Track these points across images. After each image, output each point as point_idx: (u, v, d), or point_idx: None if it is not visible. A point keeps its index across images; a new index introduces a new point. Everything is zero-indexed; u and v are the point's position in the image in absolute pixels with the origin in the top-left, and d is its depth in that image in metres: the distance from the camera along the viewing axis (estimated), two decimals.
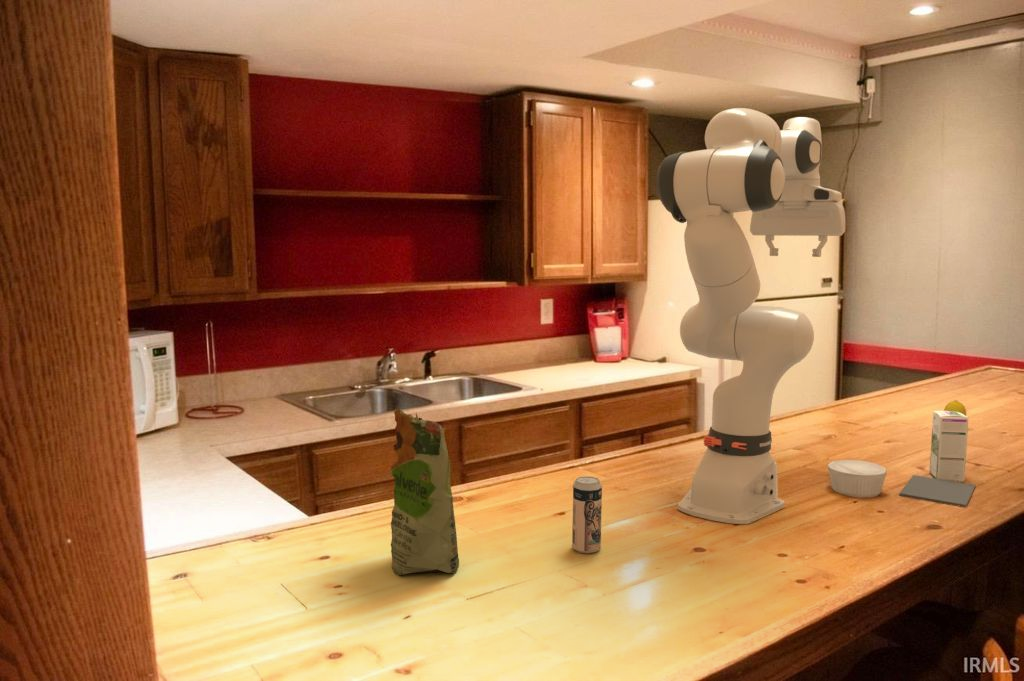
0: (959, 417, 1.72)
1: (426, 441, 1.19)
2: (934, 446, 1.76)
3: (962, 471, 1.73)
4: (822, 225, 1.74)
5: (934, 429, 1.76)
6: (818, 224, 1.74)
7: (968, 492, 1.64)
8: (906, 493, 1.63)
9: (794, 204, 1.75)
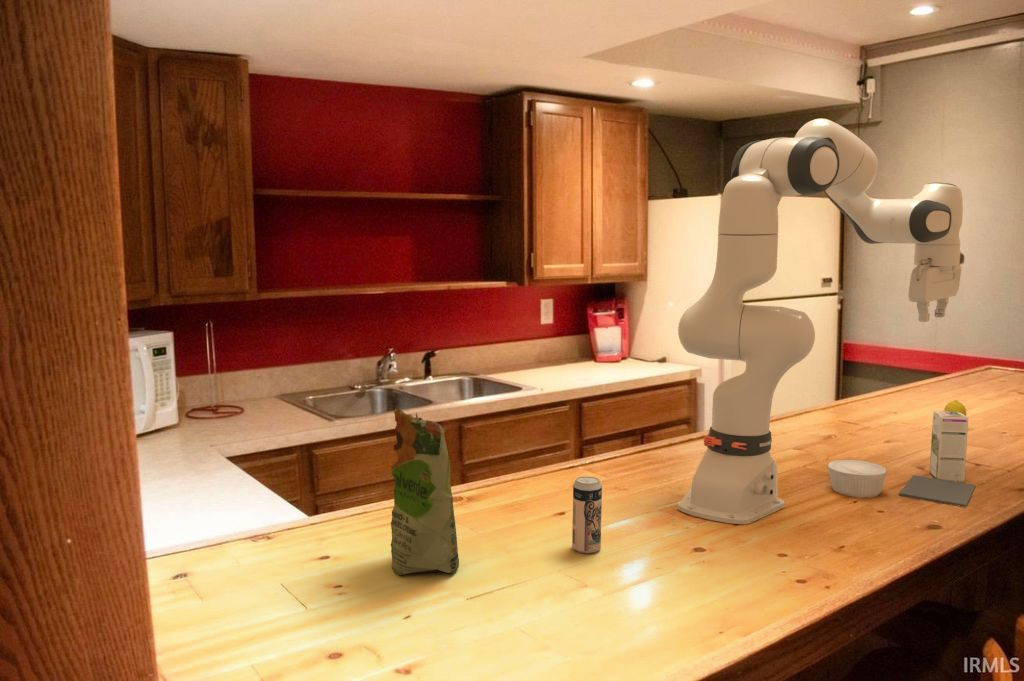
0: (959, 417, 1.72)
1: (426, 441, 1.19)
2: (934, 446, 1.76)
3: (962, 471, 1.73)
4: (952, 287, 1.81)
5: (934, 429, 1.76)
6: (951, 286, 1.81)
7: (968, 492, 1.64)
8: (906, 493, 1.63)
9: (951, 269, 1.76)
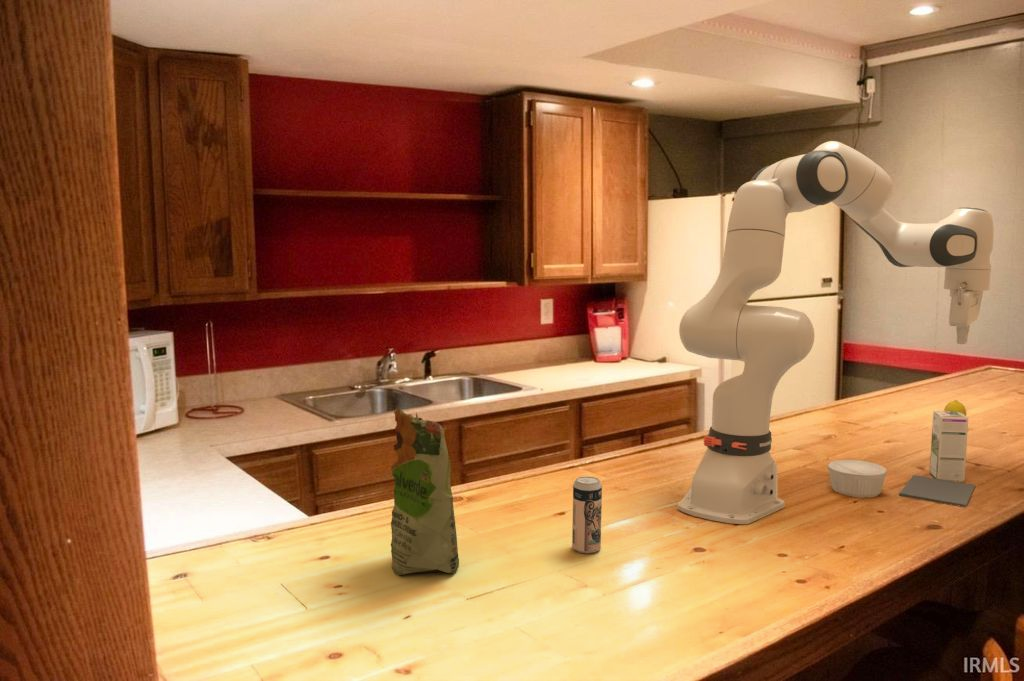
0: (959, 417, 1.72)
1: (426, 441, 1.19)
2: (934, 446, 1.76)
3: (962, 471, 1.73)
4: (976, 311, 1.83)
5: (934, 429, 1.76)
6: (976, 311, 1.82)
7: (968, 492, 1.64)
8: (906, 493, 1.63)
9: (982, 293, 1.77)
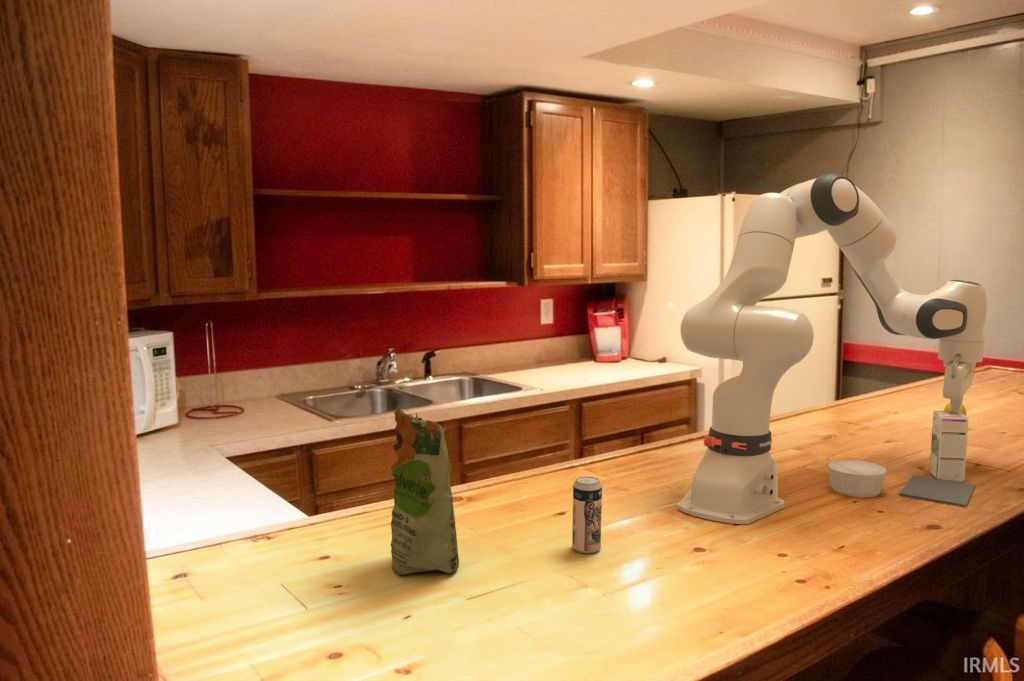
0: (959, 417, 1.72)
1: (426, 441, 1.19)
2: (934, 446, 1.76)
3: (962, 471, 1.73)
4: (970, 379, 1.85)
5: (934, 429, 1.76)
6: (969, 379, 1.84)
7: (968, 492, 1.64)
8: (906, 493, 1.63)
9: (975, 364, 1.79)
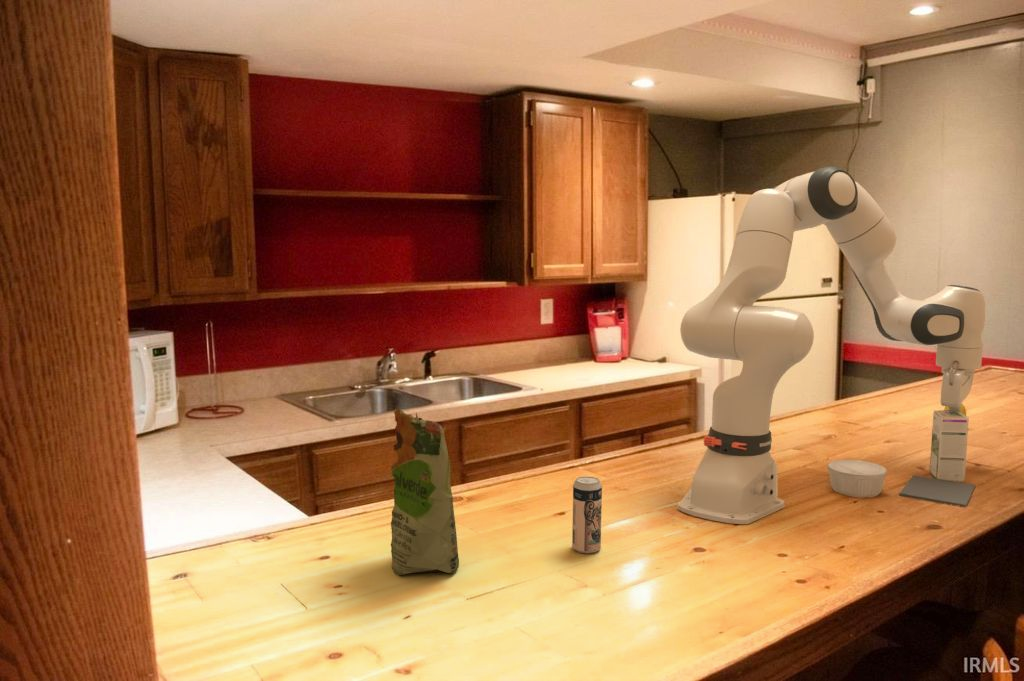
0: (959, 417, 1.71)
1: (426, 441, 1.19)
2: (934, 446, 1.76)
3: (962, 471, 1.73)
4: (968, 386, 1.82)
5: (934, 429, 1.76)
6: (968, 386, 1.81)
7: (968, 492, 1.64)
8: (906, 493, 1.63)
9: None
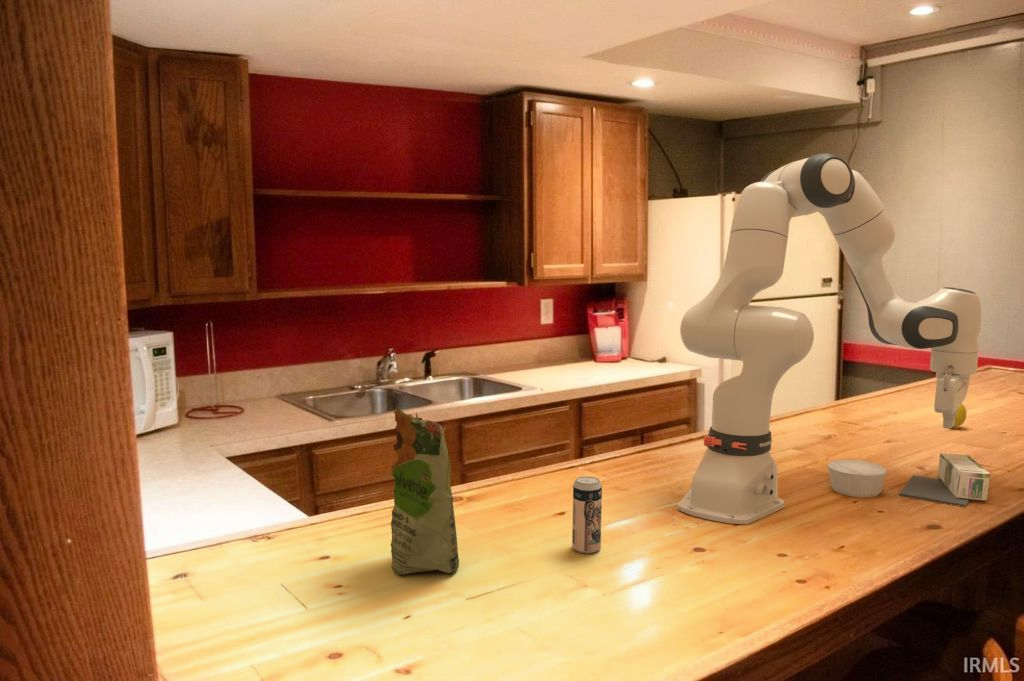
0: None
1: (426, 441, 1.19)
2: (947, 473, 1.67)
3: None
4: (964, 392, 1.75)
5: (952, 475, 1.64)
6: (963, 392, 1.75)
7: None
8: (906, 493, 1.63)
9: (969, 376, 1.69)
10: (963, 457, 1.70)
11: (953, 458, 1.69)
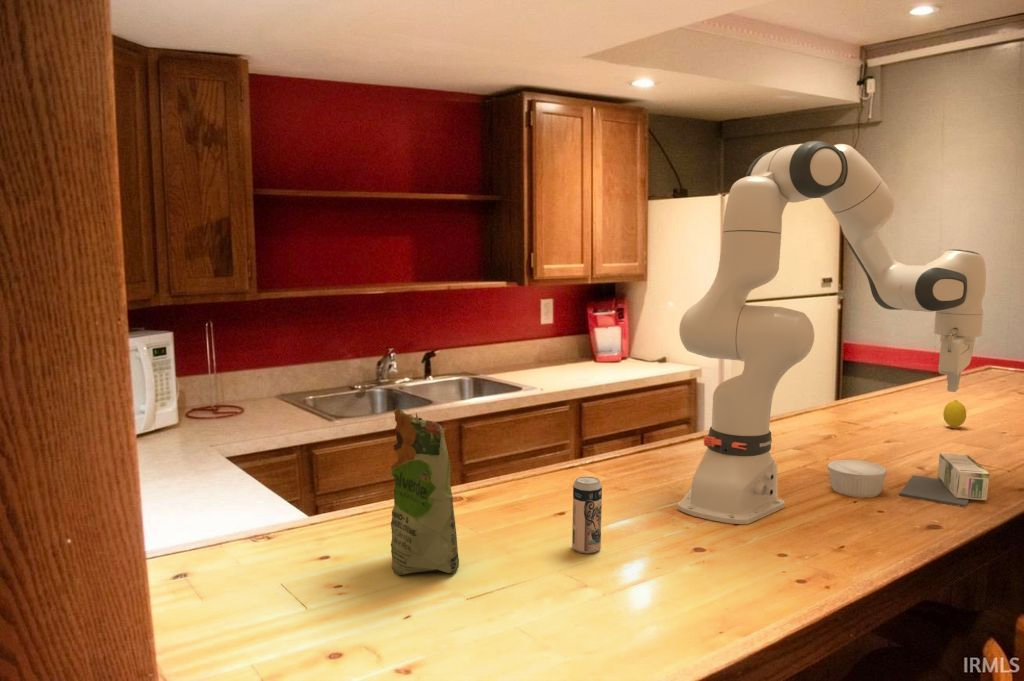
0: None
1: (426, 441, 1.19)
2: (947, 474, 1.67)
3: None
4: (968, 357, 1.75)
5: (952, 475, 1.64)
6: (968, 356, 1.74)
7: None
8: (906, 493, 1.63)
9: (973, 339, 1.69)
10: (963, 457, 1.70)
11: (953, 458, 1.69)
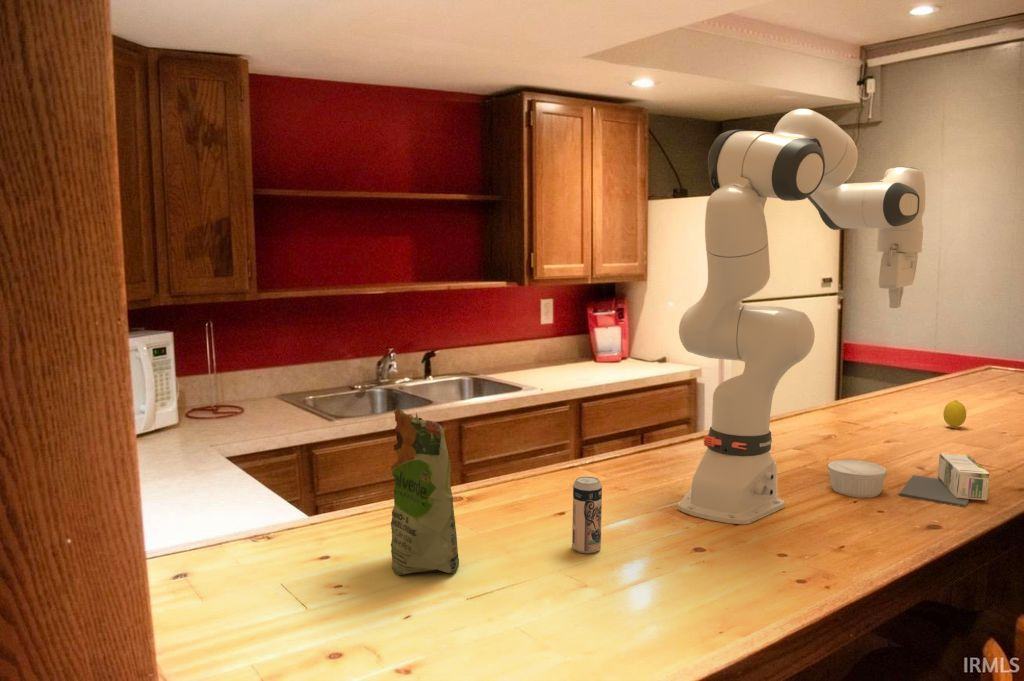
0: None
1: (426, 441, 1.19)
2: (947, 474, 1.67)
3: None
4: (911, 275, 1.78)
5: (952, 475, 1.64)
6: (910, 274, 1.77)
7: None
8: (906, 493, 1.63)
9: (914, 255, 1.72)
10: (963, 457, 1.70)
11: (953, 458, 1.69)
